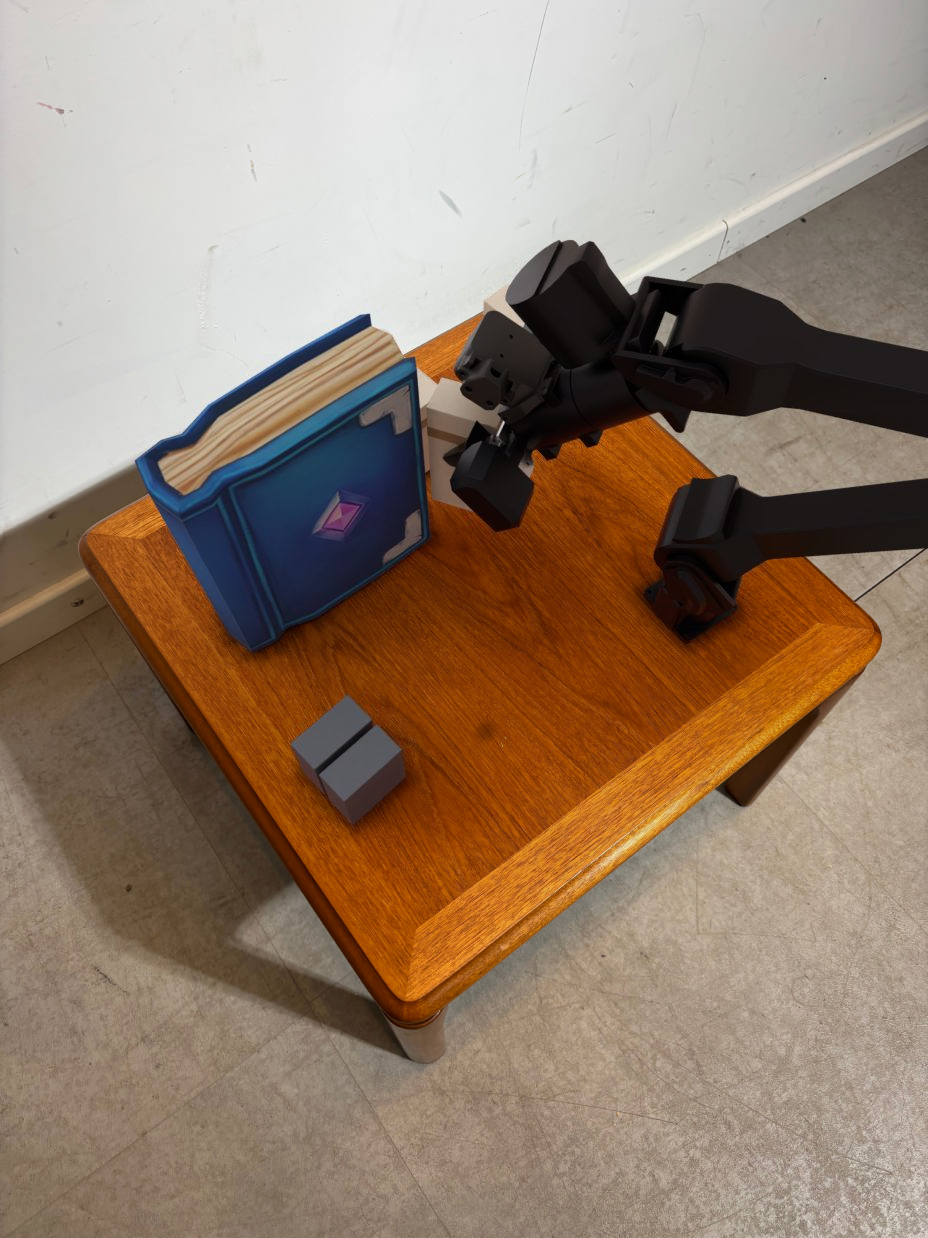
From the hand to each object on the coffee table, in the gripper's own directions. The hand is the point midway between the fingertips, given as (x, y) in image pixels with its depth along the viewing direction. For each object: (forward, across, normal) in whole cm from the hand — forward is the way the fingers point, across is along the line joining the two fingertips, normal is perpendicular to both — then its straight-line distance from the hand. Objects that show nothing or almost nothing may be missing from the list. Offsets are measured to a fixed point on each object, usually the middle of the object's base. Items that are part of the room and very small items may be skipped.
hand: (454, 443), depth 77 cm
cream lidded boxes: (+12, -13, +6) cm, 19 cm away
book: (+16, +10, +2) cm, 19 cm away
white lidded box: (+4, 0, +6) cm, 7 cm away
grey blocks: (+8, +27, +10) cm, 29 cm away
